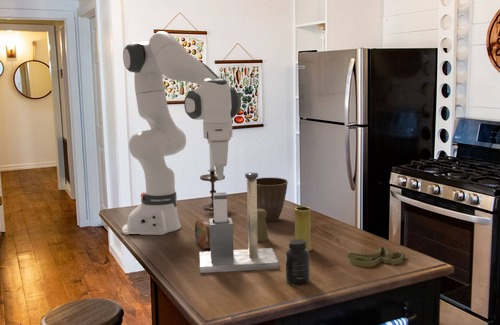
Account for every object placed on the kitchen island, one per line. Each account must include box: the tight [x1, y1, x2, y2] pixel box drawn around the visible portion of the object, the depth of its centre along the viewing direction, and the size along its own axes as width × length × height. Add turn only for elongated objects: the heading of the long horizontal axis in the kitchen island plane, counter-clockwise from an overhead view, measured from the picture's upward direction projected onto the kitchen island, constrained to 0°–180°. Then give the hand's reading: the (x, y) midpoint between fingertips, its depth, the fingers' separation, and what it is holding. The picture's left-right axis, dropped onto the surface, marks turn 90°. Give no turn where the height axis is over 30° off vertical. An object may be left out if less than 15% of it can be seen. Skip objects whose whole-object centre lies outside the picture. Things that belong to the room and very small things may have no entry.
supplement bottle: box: [285, 238, 311, 286], centre depth 160 cm, size 7×7×12 cm
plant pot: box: [257, 177, 289, 223], centre depth 226 cm, size 15×15×16 cm
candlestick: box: [199, 143, 226, 212], centre depth 245 cm, size 11×11×35 cm
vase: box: [293, 206, 313, 252], centre depth 188 cm, size 6×6×14 cm
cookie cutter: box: [347, 246, 406, 268], centre depth 178 cm, size 18×12×2 cm, turn 114°
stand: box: [199, 172, 279, 274], centre depth 175 cm, size 24×14×29 cm, turn 96°
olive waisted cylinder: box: [257, 209, 269, 242], centre depth 201 cm, size 6×6×11 cm
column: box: [213, 191, 228, 224], centre depth 175 cm, size 4×4×20 cm
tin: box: [194, 219, 210, 250], centre depth 196 cm, size 15×3×8 cm, turn 22°
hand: (219, 176), depth 172 cm, fingers open, 8 cm apart
